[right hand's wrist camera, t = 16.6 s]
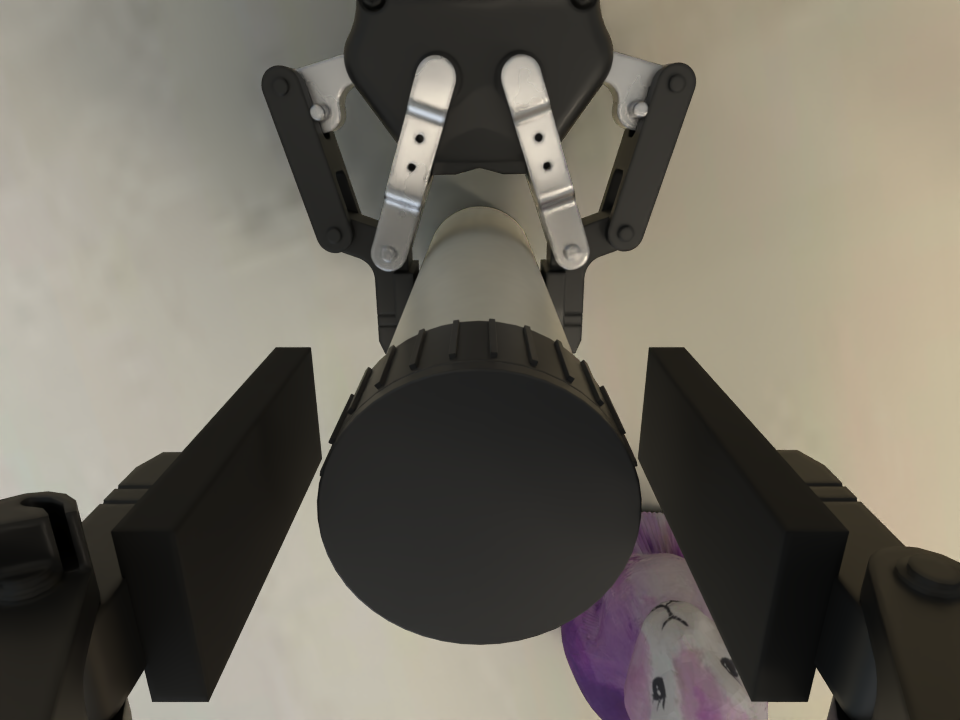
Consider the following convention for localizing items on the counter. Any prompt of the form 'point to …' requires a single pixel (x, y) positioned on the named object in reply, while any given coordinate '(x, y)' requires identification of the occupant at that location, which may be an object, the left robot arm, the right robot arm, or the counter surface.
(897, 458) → the counter surface
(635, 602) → the figurine
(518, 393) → the lid
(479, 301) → the jar
